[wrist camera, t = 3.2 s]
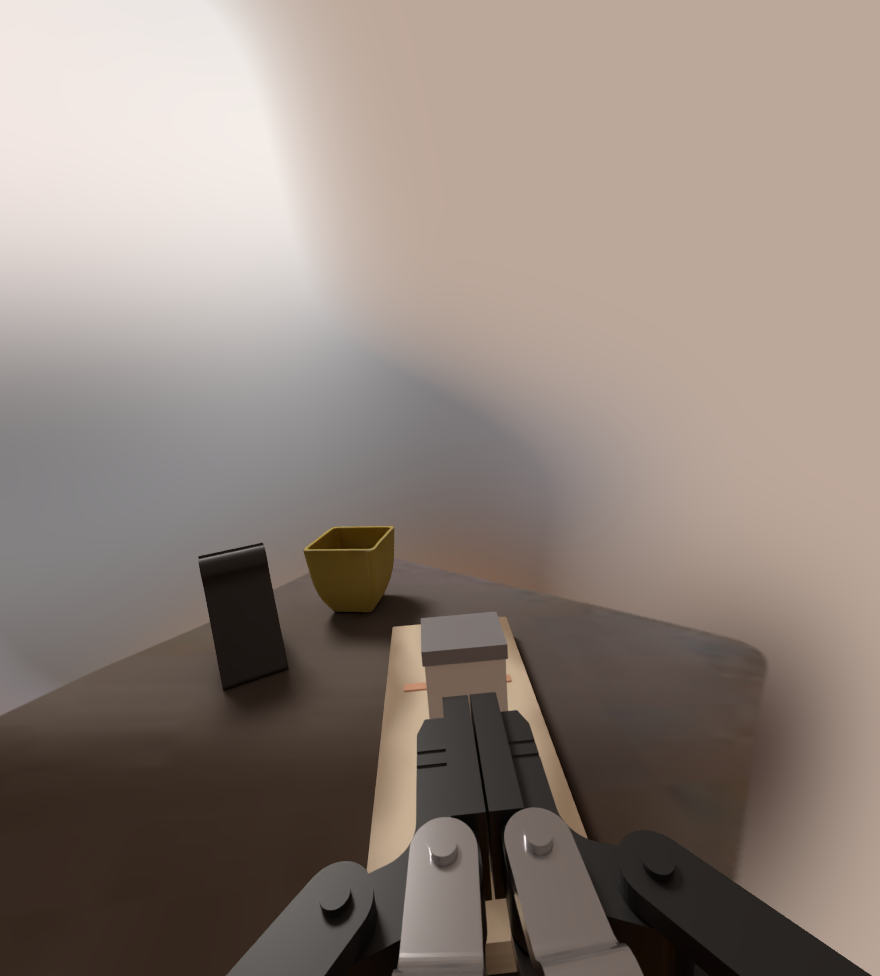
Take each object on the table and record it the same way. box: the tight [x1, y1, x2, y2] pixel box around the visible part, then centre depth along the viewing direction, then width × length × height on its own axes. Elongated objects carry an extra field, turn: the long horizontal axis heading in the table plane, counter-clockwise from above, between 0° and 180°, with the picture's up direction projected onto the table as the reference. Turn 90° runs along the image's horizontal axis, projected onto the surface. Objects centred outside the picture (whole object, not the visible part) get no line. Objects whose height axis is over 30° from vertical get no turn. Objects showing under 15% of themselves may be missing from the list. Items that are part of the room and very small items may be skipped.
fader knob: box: [421, 612, 508, 719], centre depth 25 cm, size 4×3×12 cm
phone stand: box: [198, 543, 288, 690], centre depth 46 cm, size 9×6×12 cm, turn 27°
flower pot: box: [303, 526, 394, 612], centre depth 56 cm, size 9×9×9 cm
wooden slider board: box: [367, 617, 588, 975], centre depth 34 cm, size 12×28×2 cm, turn 3°
